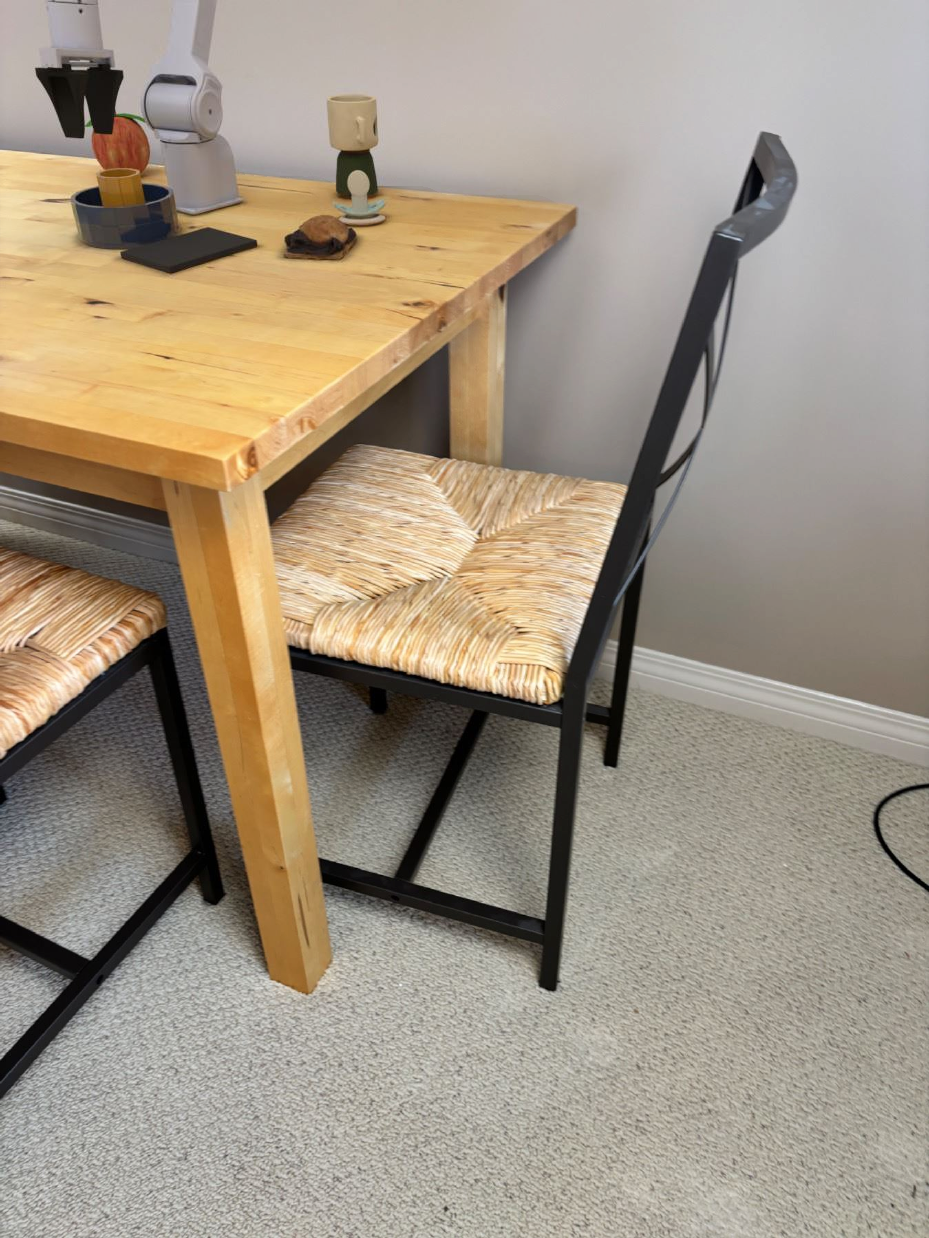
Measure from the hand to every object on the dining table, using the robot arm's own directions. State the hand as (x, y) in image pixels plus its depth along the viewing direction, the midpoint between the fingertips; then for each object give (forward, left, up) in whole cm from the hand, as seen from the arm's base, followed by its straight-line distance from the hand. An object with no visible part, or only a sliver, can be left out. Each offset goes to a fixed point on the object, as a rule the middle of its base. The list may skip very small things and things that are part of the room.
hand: (89, 136), depth 115 cm
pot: (-3, 0, -12) cm, 13 cm away
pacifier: (-27, +20, -13) cm, 36 cm away
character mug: (-37, +10, -13) cm, 40 cm away
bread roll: (-15, +24, -13) cm, 30 cm away
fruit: (-23, -27, -13) cm, 38 cm away
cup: (-3, 0, -12) cm, 12 cm away
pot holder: (-3, +12, -12) cm, 18 cm away
